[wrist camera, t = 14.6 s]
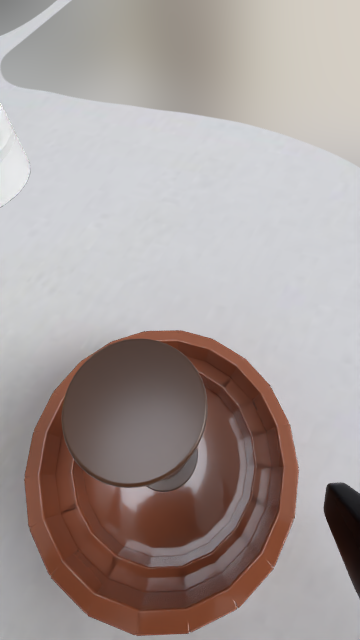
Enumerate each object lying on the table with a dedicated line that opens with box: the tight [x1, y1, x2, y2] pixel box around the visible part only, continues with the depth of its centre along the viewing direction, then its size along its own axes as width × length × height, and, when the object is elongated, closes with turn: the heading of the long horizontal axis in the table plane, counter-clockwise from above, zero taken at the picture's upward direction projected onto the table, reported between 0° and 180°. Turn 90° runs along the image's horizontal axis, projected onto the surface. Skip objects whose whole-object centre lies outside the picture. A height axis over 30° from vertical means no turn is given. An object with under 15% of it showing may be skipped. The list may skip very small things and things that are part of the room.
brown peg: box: [62, 338, 208, 492], centre depth 11 cm, size 4×4×14 cm
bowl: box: [24, 330, 299, 636], centre depth 15 cm, size 12×12×4 cm
